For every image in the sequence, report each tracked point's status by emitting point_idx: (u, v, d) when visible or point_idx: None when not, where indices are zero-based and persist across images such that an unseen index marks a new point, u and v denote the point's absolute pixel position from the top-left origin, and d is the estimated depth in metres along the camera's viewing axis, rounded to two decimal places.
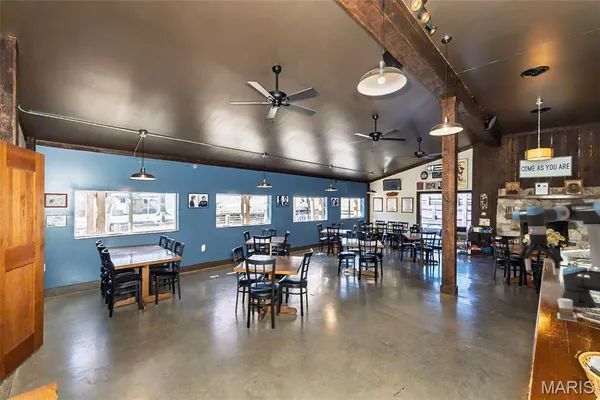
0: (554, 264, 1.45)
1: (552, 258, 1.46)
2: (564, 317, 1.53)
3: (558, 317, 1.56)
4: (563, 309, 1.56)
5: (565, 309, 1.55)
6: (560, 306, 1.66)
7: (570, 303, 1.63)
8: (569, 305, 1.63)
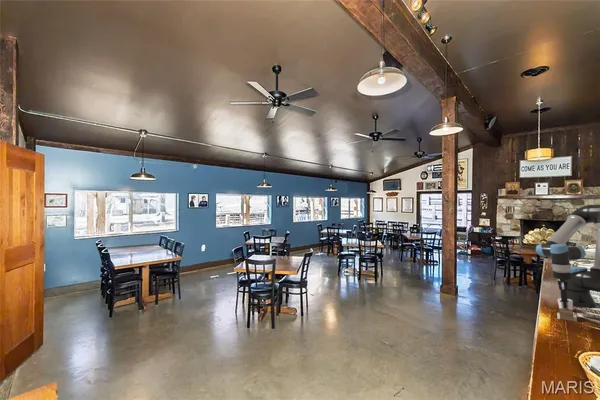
0: (562, 303, 1.57)
1: None
2: (564, 318, 1.53)
3: (558, 317, 1.56)
4: (563, 310, 1.55)
5: (565, 310, 1.55)
6: (560, 306, 1.66)
7: (570, 303, 1.63)
8: (569, 305, 1.63)
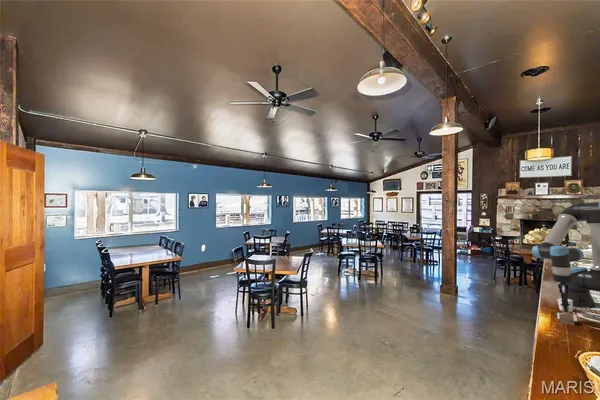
0: (562, 307, 1.52)
1: None
2: None
3: (558, 317, 1.56)
4: (563, 315, 1.50)
5: (565, 315, 1.50)
6: (560, 306, 1.66)
7: (570, 303, 1.63)
8: (569, 305, 1.63)
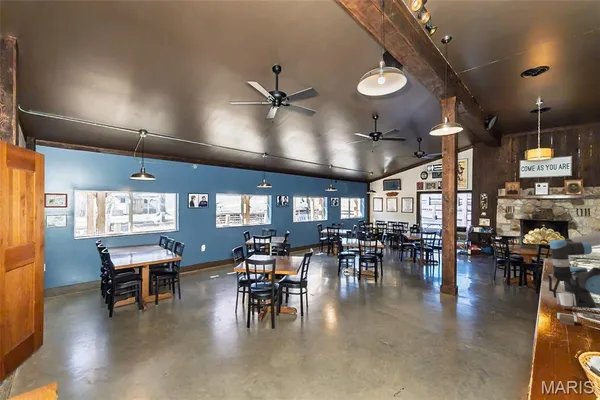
0: (574, 296, 1.63)
1: (574, 290, 1.63)
2: (564, 323, 1.48)
3: (558, 317, 1.56)
4: (563, 315, 1.50)
5: (566, 315, 1.50)
6: (560, 299, 1.66)
7: (570, 296, 1.63)
8: (569, 298, 1.63)
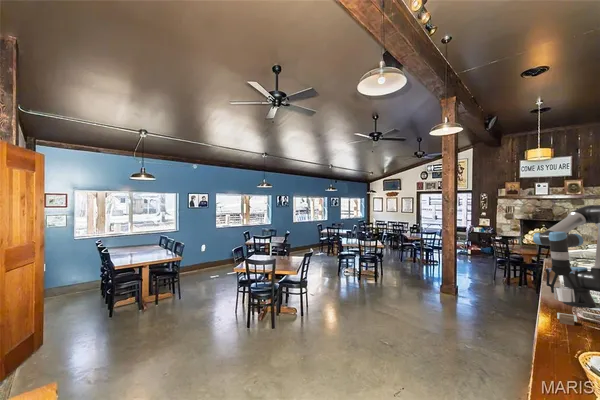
0: (573, 291, 1.52)
1: (573, 285, 1.52)
2: (564, 323, 1.48)
3: (558, 317, 1.56)
4: (563, 315, 1.50)
5: (566, 315, 1.50)
6: (558, 295, 1.56)
7: (569, 291, 1.52)
8: (568, 293, 1.52)
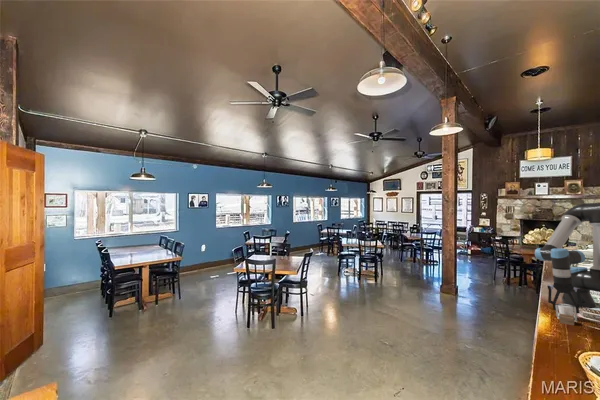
0: (575, 309, 1.51)
1: (575, 303, 1.51)
2: (564, 323, 1.48)
3: (558, 317, 1.56)
4: (563, 315, 1.50)
5: (566, 315, 1.50)
6: (560, 312, 1.55)
7: (571, 309, 1.52)
8: (570, 311, 1.52)
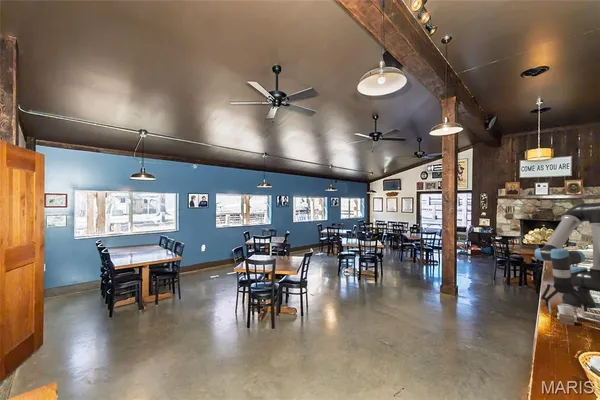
0: (583, 307, 1.49)
1: (581, 301, 1.50)
2: (564, 323, 1.48)
3: (558, 317, 1.56)
4: (563, 315, 1.50)
5: (566, 315, 1.50)
6: (560, 312, 1.55)
7: (571, 309, 1.52)
8: (570, 311, 1.52)
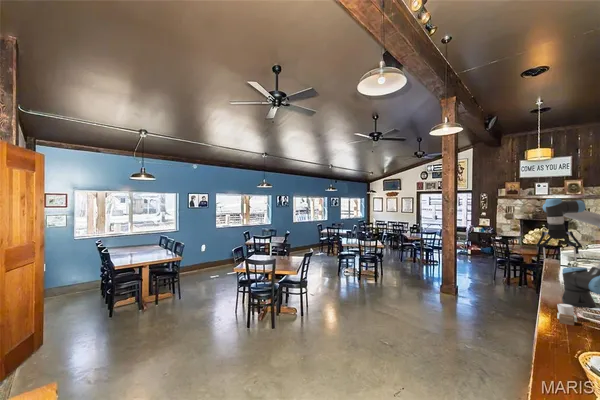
0: (575, 250, 1.61)
1: (573, 245, 1.62)
2: (564, 323, 1.48)
3: (558, 317, 1.56)
4: (563, 315, 1.50)
5: (566, 315, 1.50)
6: (560, 312, 1.55)
7: (571, 309, 1.52)
8: (570, 311, 1.52)
